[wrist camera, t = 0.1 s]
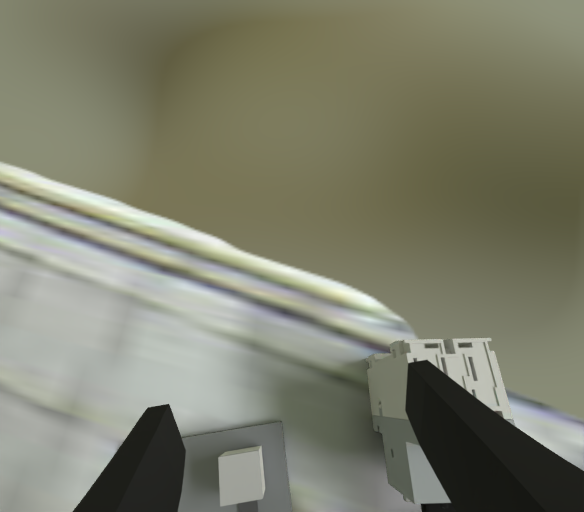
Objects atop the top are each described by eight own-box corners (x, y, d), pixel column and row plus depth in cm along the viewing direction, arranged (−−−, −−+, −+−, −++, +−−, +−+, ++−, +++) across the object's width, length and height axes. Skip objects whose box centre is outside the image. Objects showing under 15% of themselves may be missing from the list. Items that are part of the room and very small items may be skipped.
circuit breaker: (380, 493, 35) (439, 551, 21) (365, 358, 41) (403, 336, 27) (448, 491, 35) (549, 548, 22) (423, 357, 41) (489, 335, 28)
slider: (265, 488, 34) (262, 498, 30) (227, 495, 34) (220, 506, 30) (261, 445, 35) (258, 450, 32) (225, 451, 35) (218, 457, 32)
